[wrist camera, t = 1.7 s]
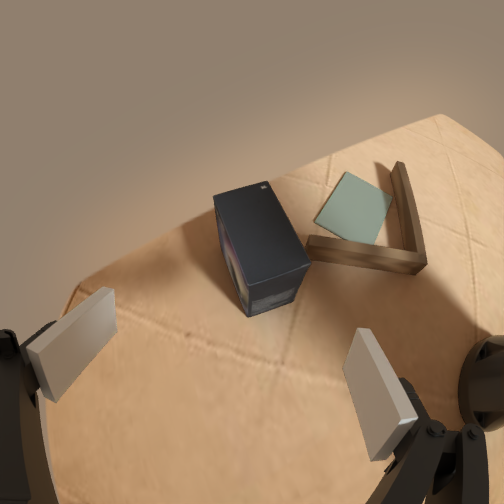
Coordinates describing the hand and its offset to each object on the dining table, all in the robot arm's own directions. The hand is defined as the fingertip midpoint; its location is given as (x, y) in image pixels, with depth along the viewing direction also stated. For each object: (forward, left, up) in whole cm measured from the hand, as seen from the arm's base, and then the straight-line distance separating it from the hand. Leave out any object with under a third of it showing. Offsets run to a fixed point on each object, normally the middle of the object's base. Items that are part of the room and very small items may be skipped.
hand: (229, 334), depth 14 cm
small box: (0, -12, -18) cm, 22 cm away
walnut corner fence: (-15, -25, -18) cm, 34 cm away
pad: (-14, -25, -18) cm, 34 cm away
